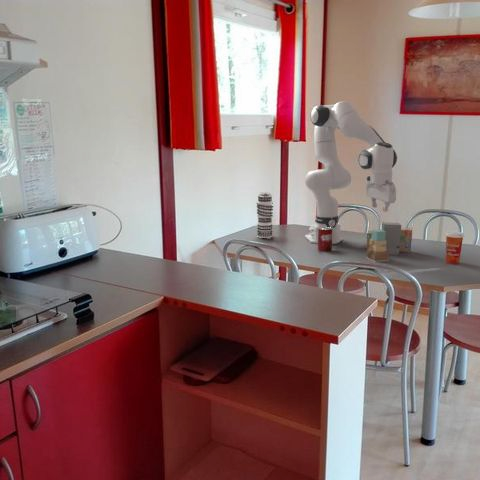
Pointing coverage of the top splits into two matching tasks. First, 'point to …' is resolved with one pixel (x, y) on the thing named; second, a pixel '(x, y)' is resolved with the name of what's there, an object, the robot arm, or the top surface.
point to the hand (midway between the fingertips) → (379, 209)
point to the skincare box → (392, 237)
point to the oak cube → (377, 246)
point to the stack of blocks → (404, 239)
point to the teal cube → (378, 235)
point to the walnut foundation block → (377, 255)
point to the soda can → (325, 239)
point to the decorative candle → (264, 215)
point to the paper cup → (453, 246)
